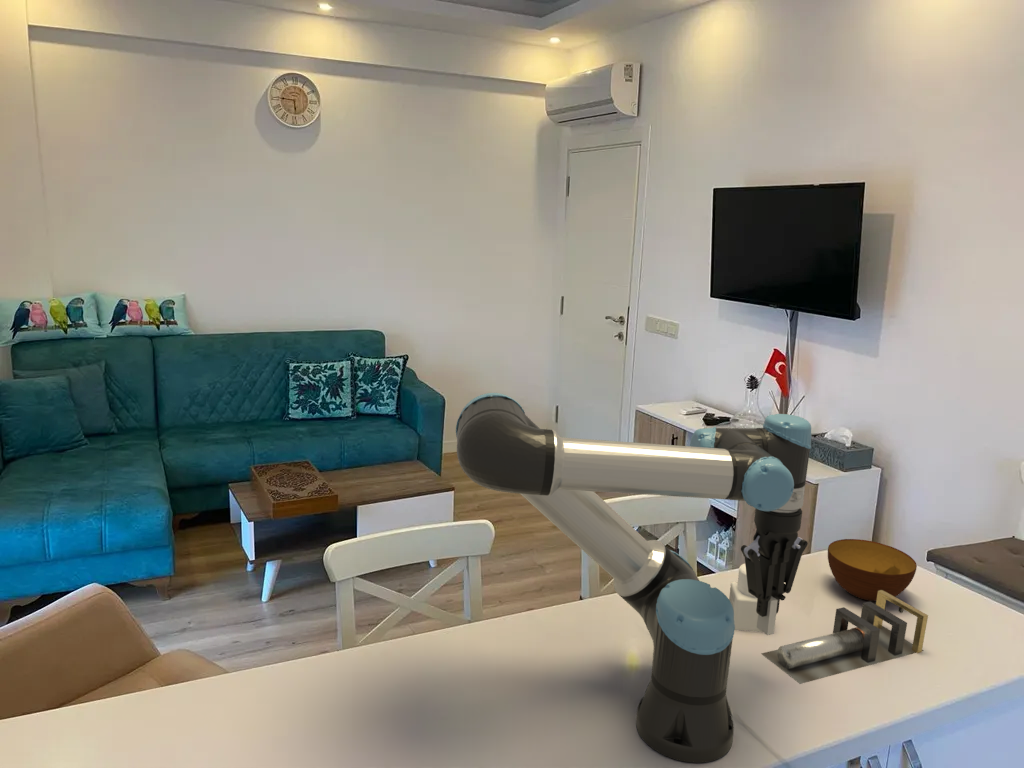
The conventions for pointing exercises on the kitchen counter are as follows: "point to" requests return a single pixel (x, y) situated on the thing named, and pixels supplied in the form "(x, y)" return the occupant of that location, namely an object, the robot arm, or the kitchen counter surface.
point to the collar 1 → (870, 630)
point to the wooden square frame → (921, 616)
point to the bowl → (870, 568)
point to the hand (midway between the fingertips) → (765, 630)
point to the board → (840, 661)
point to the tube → (821, 648)
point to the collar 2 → (897, 624)
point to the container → (743, 603)
